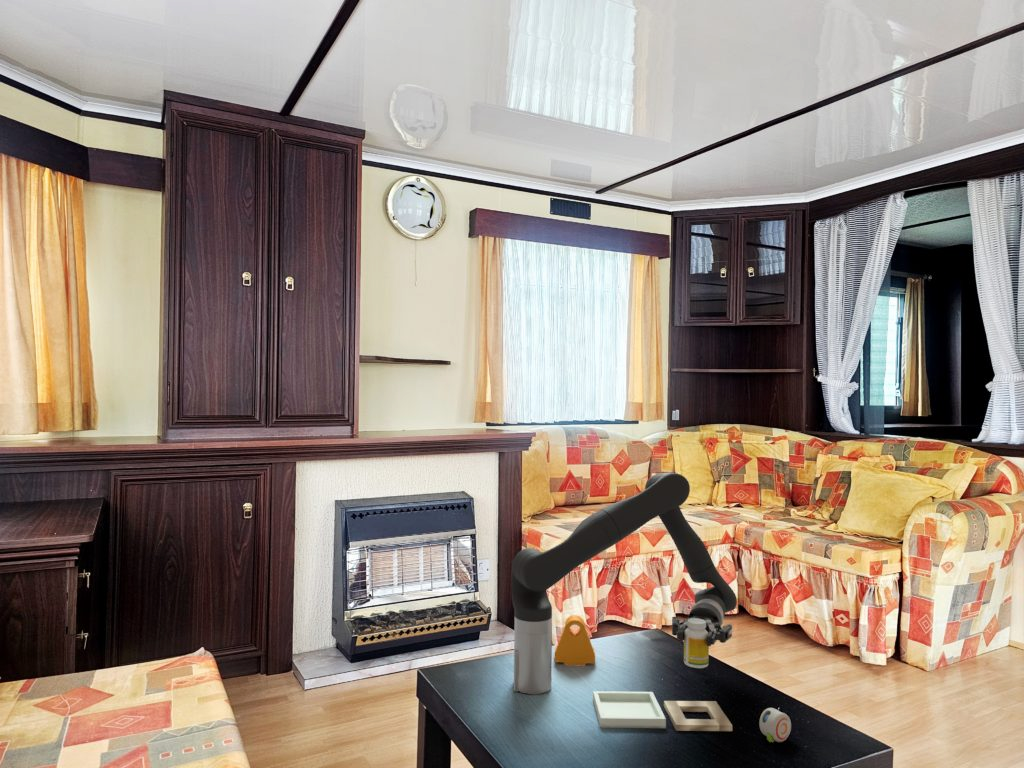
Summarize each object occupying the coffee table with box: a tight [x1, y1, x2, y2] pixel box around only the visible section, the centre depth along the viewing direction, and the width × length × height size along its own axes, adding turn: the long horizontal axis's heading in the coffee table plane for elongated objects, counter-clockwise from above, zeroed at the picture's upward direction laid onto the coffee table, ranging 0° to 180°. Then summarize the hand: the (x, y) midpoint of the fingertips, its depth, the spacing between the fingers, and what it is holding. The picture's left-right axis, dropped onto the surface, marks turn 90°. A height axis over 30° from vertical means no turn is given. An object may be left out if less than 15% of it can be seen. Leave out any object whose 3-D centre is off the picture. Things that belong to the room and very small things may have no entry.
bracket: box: [554, 614, 596, 667], centre depth 188 cm, size 11×7×12 cm, turn 85°
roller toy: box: [758, 707, 792, 743], centre depth 145 cm, size 4×6×6 cm
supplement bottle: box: [683, 618, 710, 669], centre depth 154 cm, size 5×5×10 cm
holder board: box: [663, 700, 733, 732], centre depth 154 cm, size 12×12×1 cm
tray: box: [592, 690, 667, 729], centre depth 156 cm, size 14×14×2 cm
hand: (694, 639), depth 152 cm, fingers closed on supplement bottle, 5 cm apart
